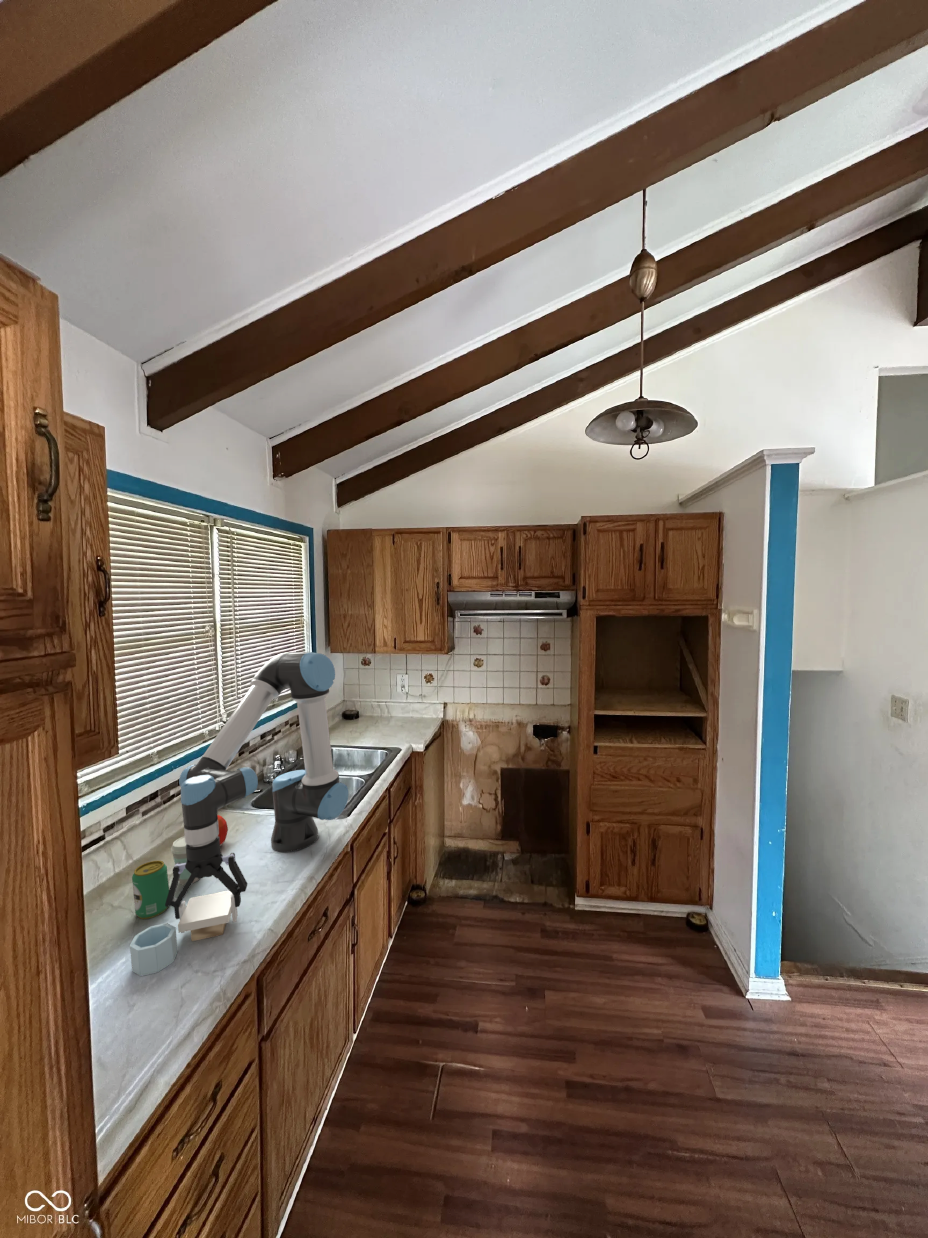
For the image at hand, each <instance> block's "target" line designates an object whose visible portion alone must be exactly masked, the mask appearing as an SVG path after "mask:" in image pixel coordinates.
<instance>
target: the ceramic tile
mask: <svg viewBox="0 0 928 1238" xmlns="http://www.w3.org/2000/svg"><path fill="white" fill-rule="evenodd" d="M231 895H232V893H231V892H230V891H229V890H228V889H227V890H224V891H220V892H213V893H209V894H203V895H199V896H198V895H197V896H193V897H190V898H189V899H188V902H187V904H186V908H185V910H184V913H183V915H182V917H181V919H179V922H178V924H177V928H178V930H177V931H178V933H179V934H182V933H181V932H184V933H186V932H191V930H195V929H200V928H205V927H209V926H214V925H219V924H224V923H226V924H227V923H228V924H229V922H230V919H231V917H232V908H231Z"/></svg>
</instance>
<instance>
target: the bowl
mask: <svg viewBox="0 0 928 1238" xmlns="http://www.w3.org/2000/svg"><path fill="white" fill-rule="evenodd" d="M176 930H177V928H176V926H174V925H172V924H170V923H168V922H165V923H161V924H155V925H151V926H149V927H147V928H146V929H144V930H142V931H140V932H139V933H137V934H135V935H134V937H133V939H132V941H131V942H130V945H129V953H130V963H131V971H132V972H133V973H135V974H136V975H138V976H140V977H142V976H143V977H144V976H147V975H152V974H155V973H156V974H157V973H159V972H160V971H162V970H164V969H165V968H167V967H168V966H169V965H171V964H172V963H174V961H175V959H176V957H177V954H178V952H179V949H178V940H177V931H176Z"/></svg>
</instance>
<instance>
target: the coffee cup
mask: <svg viewBox="0 0 928 1238" xmlns="http://www.w3.org/2000/svg"><path fill="white" fill-rule="evenodd" d="M170 852H171V854H172V857H173V861H174V862H173V863H174V865H175V864H176V863H177V862H180V863H181V864H182V863H186V862H187V856H186V843H185V835H184V836H181V837H179V838H177V839H176V840H174V841H173V842H172V846H171V849H170ZM190 875H191V873H190V872H189V871H188V870H187V869H186V868H185V869H184V870H183V872H182V873H181V875H180V878H179V882H178V884H180V885H182V886H184V885H185V884H186V882H187V880H188V879H189V877H190ZM199 880H200V879H198V878H196V877H195V879H194V881H193V883H194V884H195V883H196V882H198V881H199ZM193 883H192V884H193Z"/></svg>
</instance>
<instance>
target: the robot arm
mask: <svg viewBox="0 0 928 1238" xmlns="http://www.w3.org/2000/svg"><path fill="white" fill-rule="evenodd" d="M335 679H336V670H335V665H334V663H333V661H332V659H330V658H329V657H328V656H327V655H326V654H323V653H321V652H320V653H319V652H313V651H310V652H309V651H306V652H304V651H303V652H291V651H290V652H289V651H287V652H282V653H279V654H277V655H275V656H274V657H272V658H270V659H269V660H268V661H267V662H266V663H265V664H264V665H263V666H262V667H261V668H260V669H259V670H258V671H257V672H256V674H255V675H254V676H253V678H252V679H251V680H250V683H249V684H250V687H249V689H248V690H247V692H246V693H245V695H244V696H243V697H242V699H241V701H240V702H239V703H238V705H237V706H236V707H235V709H234V711H233V712H232V713H231V715H230V716H229V717H228V720H226V722H225V724H224V725H223V726H222V728H221V729H220V731H219V732H218V733H217V735H216V736H215V738H214V739H213V740H212V742H211V743H210V745H209V746H208V747H207V749H206V751H205V752H204V753H203V755H202V757H200V759H199V761H198V762H197V763H196V764H192V765H188V766H187V767H186V768H184V769H183V770H182V771H181V773H180V775H179V778H178V783H179V786H180V803H181V811H182V822H183V829H184V830H183V831H184V834H183V835H184V836H185V843H186V856H187V862H186V863H182V864H181V863H180V862H177V863H176V864H175V863H174V866H173V868H172V878H171V879H172V880H171V883H170V885H169V893H168V896H167V899H166V903H165V906H166V907H168V908H169V907H172V908H174V909H173V910H174V918H175V920H180V919H181V917H182V915H183V913H184V910H185V908H186V906H187V904H186V900H183V899H184V898H185V896H186V894H187V893H188V891H189V889H190V888H191V886H192V884H193V881H194V879H195V877H196V878H198V879H199V880H201V879H203V878H210V877H214V878H215V879H218V881H219V882H221V884H222V885H224V887H225V888H227V891H228V890H229V891H230V892H231V893H232V895H231V908H232V913H231V917H232V923H236V922H237V919H238V916H239V915H238V912H239V911H238V907H240V905H241V902H242V898H241V897H242V896H241V893H245V892H246V891H247V887H248V882H247V880H246V878H245V876H244V874H243V873H242V870H241V869H240V866H239V864H238V863H237V860H236V854H235V852H231V853H230V854H228V855H223V854H222V852H221V845H220V838H219V836H218V835H219V827H218V815H219V814H218V813H219V812H218V810H220V809H222V808H224V807H226V806H229V805H231V804H233V803H235V802H237V801H240V800H241V799H245V798H246V797H248V796H249V795H251V794H253V793H254V792H255V791H256V790H257V789H258V785H259V781H258V779H259V778H258V775H257V773H256V772H255V770H254V769H252V768H251V767H249V766H244V767H241V768H237V769H235V770H227V769H228V768H229V766H230V764H231V763H232V761H233V760H234V759H235V757H236V755H237V754H238V752H239V751H240V749H241V747H242V746H243V745H244V743H245V742H246V740H247V739H248V737H249V735H250V734H251V733H252V731H253V729H254V728H255V727H256V725H257V724H258V722H259V720H260V719H261V717H262V716H263V714H264V713H265V712H266V709H268V707H269V705H270V704H271V702H272V700H274V699H275V700H276V699H278V698H279V696H280V695H281V693H282V692H283V691H285V690H286V689H289V690H290V697H291V699H292V700H293V701H295V702H296V705H297V713H298V721H299V728H300V737H301V745H302V755H303V762H304V763H303V765H304V769H297V770H292V771H288V772H284V773H282V774H279V775H278V776H277V777H275V778H274V779H273V780H272V790H271V792H272V802H273V812H274V826H273V828H272V829H273V831H272V833H271V839H270V844H271V849H273V850H274V851H275V852H276V851H277V852H280V853H289V852H290V853H291V852H297V851H300V850H303V849H306V848H307V847H309V846H312V845H313V844H314V843H315V842H317V840H318V839H319V830H318V827H317V824H316V821H315V820H314V818H315V819H319V820H321V821H323V820H325V821H332V820H335V819H337V818H338V817H340V815H341V814H342V813H343V812H344V810H345V808H346V806H347V804H348V800H349V794H350V793H349V788H348V786H347V785H346V784H345V783H344V782H340V781H341V780H340V776H339V775H340V774H339V771H338V770H336V769H334V764H333V763H334V762H333V756H332V747H331V739H330V730H329V728H330V727H329V721H328V711H327V703H326V702H327V701H326V697H327V696H328V695H329V694H330V688H332V686H333V684H334V683H335V682H334V681H335ZM223 862H224V863H225V865H226V866H228V868H229V870H230V872H231V875H232V876H233V878H234V879H233V878H232V877H231V876H230V875H229V874H228V872H226V871H225V869H224V867H223V866H222V863H223ZM185 868H186V869H187V870H188V871H189V872H190V873H191V875H190V877H189V879H188V880H187V882H186V884H185V885H183V887H182V889H181V891H180V893H179V894H178V895H177V897H175V894H176V892H177V888H178V885H179V878H180V875H181V873H182V872H183V870H184V869H185ZM183 933H185V932H181V933H180V934H183Z"/></svg>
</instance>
